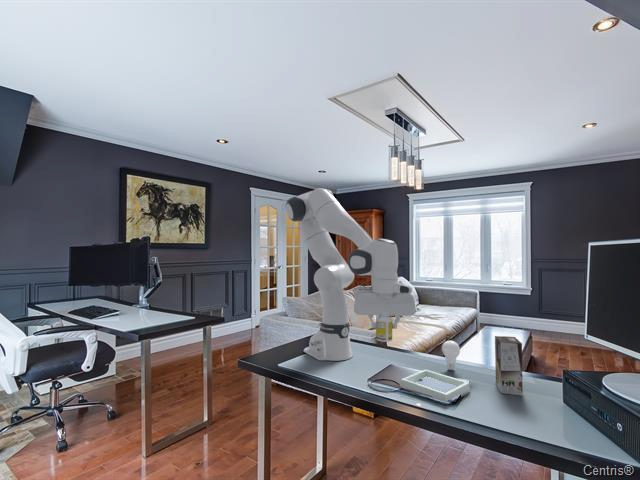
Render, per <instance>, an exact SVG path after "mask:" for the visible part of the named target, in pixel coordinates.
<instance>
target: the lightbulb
mask: <svg viewBox="0 0 640 480" xmlns="http://www.w3.org/2000/svg"><path fill="white" fill-rule="evenodd" d="M441 351H442V354H443V355H444V357H445V360H446V363H447V365H446V366H447V370H449V371H452V372H453V371H454V370H456V365H455V364H456V361H457V358H458V356H459V355H460V353H461V349H460V346H459V344H458V342H456V341H454V340H446V341H444V342H443V343H442V345H441Z"/></svg>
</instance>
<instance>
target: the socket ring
mask: <svg viewBox="0 0 640 480" xmlns="http://www.w3.org/2000/svg"><path fill="white" fill-rule="evenodd" d="M367 385H368V386H369V388H370V389H372V390H373V391H376V392H382V393H394V392H396V391H394V389H380V388H377V387H374V386H373V385H372V384H371V385H370V384H369V382H368V384H367Z"/></svg>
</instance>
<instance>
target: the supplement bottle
mask: <svg viewBox="0 0 640 480" xmlns="http://www.w3.org/2000/svg"><path fill="white" fill-rule="evenodd" d="M375 322H376V323H377V328H375V338H376V340H377V342H378V341H379V342H381V343H382V342H383V343H389V342H392V341H393V329H392V322H393V318H392V317H391V315H388V312H383V314H382V315H377V317H376V319H375Z"/></svg>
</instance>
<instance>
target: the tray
mask: <svg viewBox="0 0 640 480" xmlns="http://www.w3.org/2000/svg"><path fill="white" fill-rule="evenodd" d="M426 376H427V377H431V378H434V379H437V380H439V381H442V382H445V383H449V384H453V385H456V386H458V387H456V388H454V389H452V390H450V391H448V392H446V393H444V392H441V391H438V390H435V389H432V388H430V387H427V386H424V385H421V384H418V383H415V382H414V381H417V380H419V379H421V378H424V377H426ZM400 383H401V385H402V386H405V387H408V388H411V389H414V390H416V391H418V392H421V393H423V394H427V395H430V396H432V397H434V398H437V399H439V400H442V401H445V402H447V401H448V400H450V399H452V398H453V397H455V396H457V395H459V394H461V398H462V397H464V396H466V395H467V394H470V393H471V388H470V387H471V386H470V385H471V384H470V382H468V381H465V380H462V379H459V378H455V377H452V376H448V375H446V374H443V373H442V374H441V373H438V372H436V371H433V370H429V369H426V368H425V369H422V370H421V371H418V372H415V373H412V374H410V375H408V376H406V377H403V378H401V379H400Z"/></svg>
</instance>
